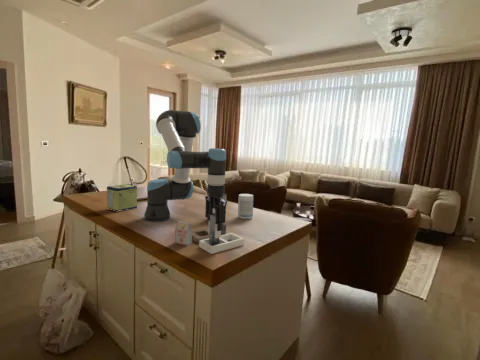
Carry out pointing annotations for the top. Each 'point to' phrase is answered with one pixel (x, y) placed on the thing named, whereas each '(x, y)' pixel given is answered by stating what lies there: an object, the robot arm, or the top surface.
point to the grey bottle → (213, 229)
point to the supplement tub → (245, 206)
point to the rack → (222, 243)
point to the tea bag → (183, 233)
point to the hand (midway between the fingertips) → (214, 235)
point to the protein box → (121, 197)
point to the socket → (205, 231)
